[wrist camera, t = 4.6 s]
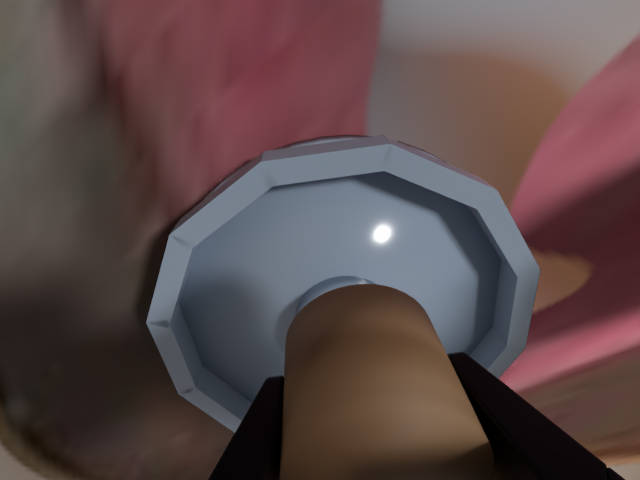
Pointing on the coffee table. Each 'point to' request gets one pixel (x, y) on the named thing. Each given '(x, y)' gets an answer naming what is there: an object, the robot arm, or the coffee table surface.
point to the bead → (375, 394)
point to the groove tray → (334, 261)
